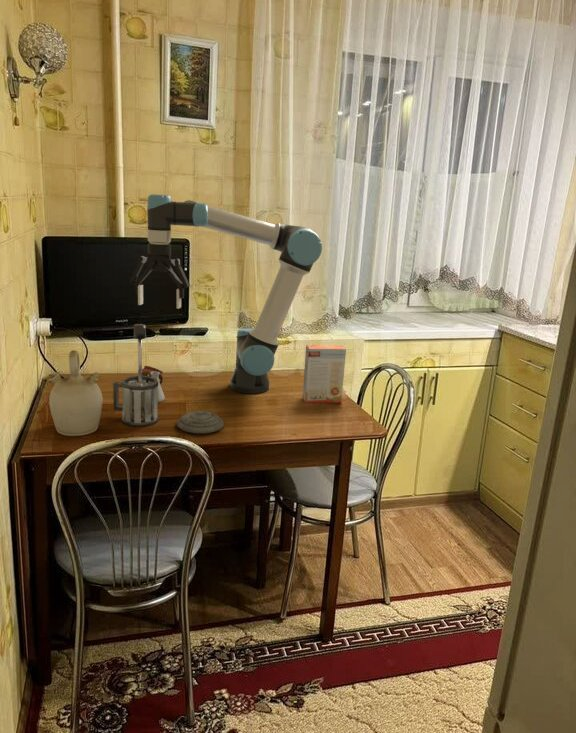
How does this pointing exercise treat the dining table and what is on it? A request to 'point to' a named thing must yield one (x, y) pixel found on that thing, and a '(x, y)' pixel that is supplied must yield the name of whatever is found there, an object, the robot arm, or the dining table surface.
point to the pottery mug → (148, 370)
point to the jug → (75, 401)
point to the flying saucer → (200, 422)
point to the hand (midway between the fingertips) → (159, 306)
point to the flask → (160, 392)
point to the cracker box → (324, 373)
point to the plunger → (139, 352)
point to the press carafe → (137, 401)
